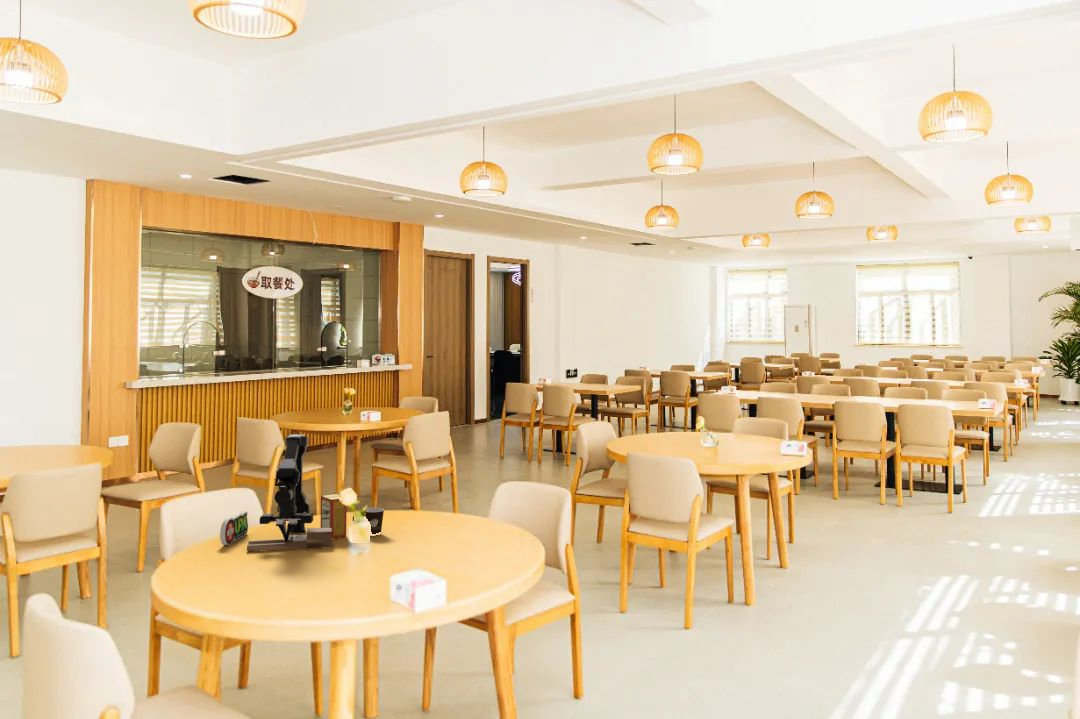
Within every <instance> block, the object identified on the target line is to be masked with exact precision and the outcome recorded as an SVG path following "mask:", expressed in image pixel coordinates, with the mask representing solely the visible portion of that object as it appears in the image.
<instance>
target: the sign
mask: <svg viewBox="0 0 1080 719" xmlns="http://www.w3.org/2000/svg"><path fill="white" fill-rule="evenodd" d="M248 515H249V514H248V511H241V512H239V514H235V515H233V516H231V517H230V518H229V517H226V518H224V520H223V522H222V523H221V526H220V534H219V540H220V543H221V544H222V545H223V546H230V545H232V544H233V542H236V541H237V539H238V540H239V539H241V538H242V537H244V536H246V535H247V534H248V531H249V524H248V523H249V522H248ZM245 534H246V535H245ZM243 535H244V536H243ZM240 537H241V538H240ZM231 543H232V544H231ZM229 544H230V545H229Z"/></svg>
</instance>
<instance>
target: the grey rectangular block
mask: <svg viewBox="0 0 1080 719" xmlns="http://www.w3.org/2000/svg"><path fill="white" fill-rule="evenodd" d="M289 539H290V543H292V542H307V534H290V536H289Z"/></svg>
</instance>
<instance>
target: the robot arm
mask: <svg viewBox="0 0 1080 719" xmlns="http://www.w3.org/2000/svg"><path fill="white" fill-rule="evenodd" d="M284 446H285V447H286V450H285V453H284V459H283V461H282V462H281V463H280V464H279V465H278V468H277V469H276V473H275V479H274V480H275V481H274V487H278V490H277V491H276V493H275V494H274V501H275V503H276V504H277V511H276V512H277V513H278V515H274V514H273V513H262V515H261V516H260V517H259V525H269V524H270V523H271V522H276V523H275V527H278V528H279V530H280V532H281V534H282V537H283V539H284V540H285V542H287V541H288V539H290V535H291V533H292V534H293V533H305V532H306V533H307V527H305V526H306V524H312V522H314V514H313V513H312V512H311V510H310V504H309V502H308V501H307V496H306V494H305V492H304V491H303V468H304V467H303V466H304V464H303V462H304V460H303V457H304V455H305V453H306V451H307V448H308V446H309V437H307V436H306V434H289V435H288V436H285V437H284ZM287 522H288V523H287Z"/></svg>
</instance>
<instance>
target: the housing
mask: <svg viewBox="0 0 1080 719" xmlns="http://www.w3.org/2000/svg"><path fill="white" fill-rule="evenodd" d="M306 535H307V542H292V543H290V538H289V539H288V541H287V542H285V540H284V538H280V539H279V538H277V539H276V538H275V539H273V538H272V539H258V540H257V539H256V540H255V539H254V540H248V544H247V545H246V552H247V551H259V552H265V551H264V550H277V551H293V550H292V549H296V550H310V548H314V549H326V548H325V547H332V540H333V539H332V528H331V527H326V528H321V527H310V528H309V527H308V528H307V527H306ZM323 547H324V548H323ZM290 549H291V550H290ZM261 550H263V551H261Z"/></svg>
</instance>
